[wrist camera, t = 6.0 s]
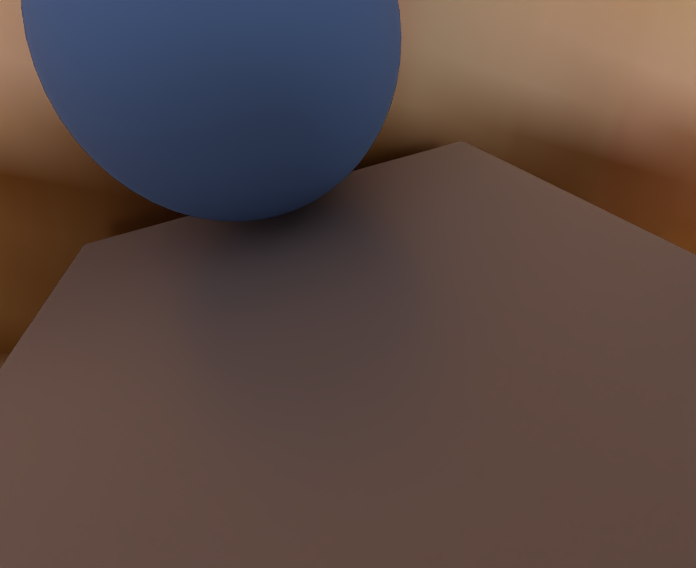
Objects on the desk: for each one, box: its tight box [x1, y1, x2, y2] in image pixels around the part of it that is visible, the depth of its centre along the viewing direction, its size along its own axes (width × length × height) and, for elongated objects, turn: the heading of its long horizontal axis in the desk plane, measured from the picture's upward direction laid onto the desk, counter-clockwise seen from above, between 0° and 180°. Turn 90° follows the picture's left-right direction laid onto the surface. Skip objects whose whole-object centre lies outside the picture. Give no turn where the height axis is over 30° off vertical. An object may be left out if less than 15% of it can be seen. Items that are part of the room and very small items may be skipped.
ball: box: [21, 0, 401, 222], centre depth 7 cm, size 5×5×5 cm
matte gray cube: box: [0, 141, 696, 568], centre depth 7 cm, size 8×8×9 cm
